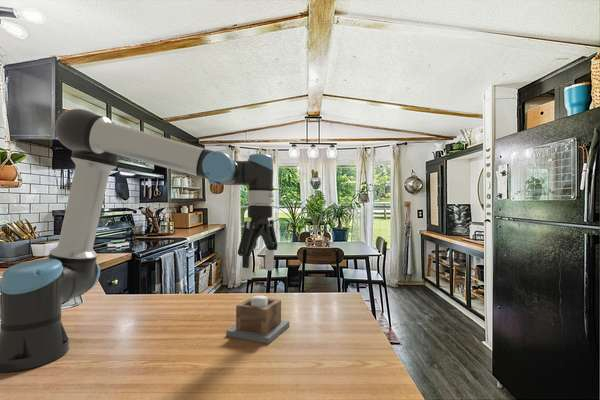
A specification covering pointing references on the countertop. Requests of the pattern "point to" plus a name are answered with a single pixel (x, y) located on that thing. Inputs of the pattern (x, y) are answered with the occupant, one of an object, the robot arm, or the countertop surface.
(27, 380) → the countertop surface
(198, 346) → the countertop surface
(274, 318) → the collar
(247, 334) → the square plate with peg
